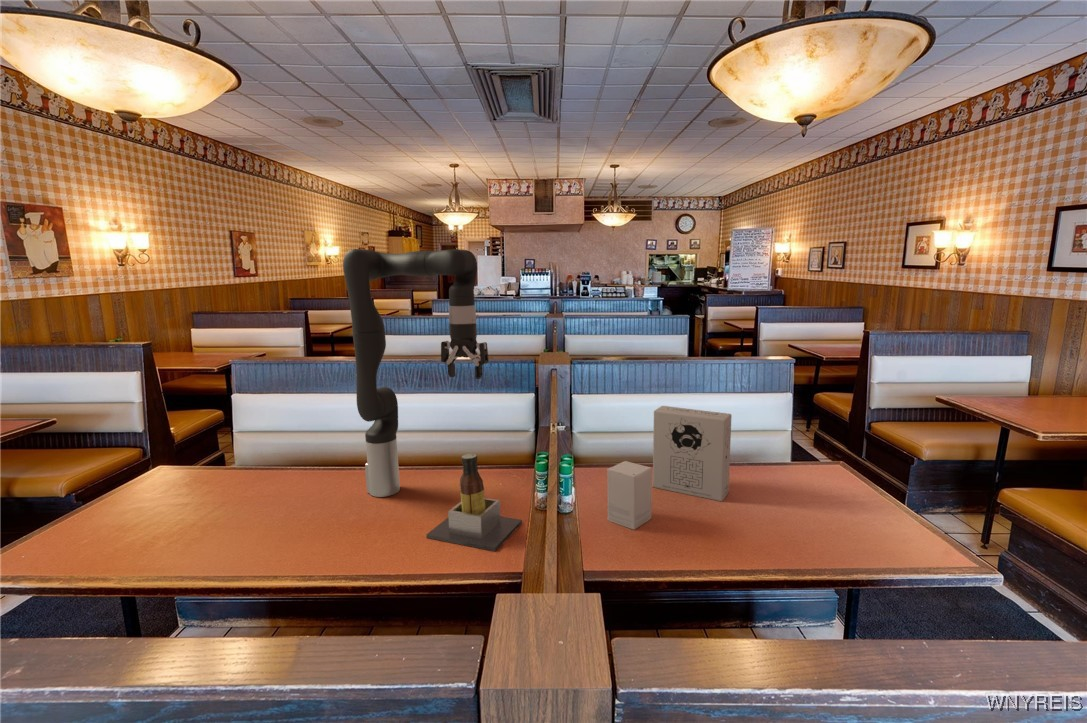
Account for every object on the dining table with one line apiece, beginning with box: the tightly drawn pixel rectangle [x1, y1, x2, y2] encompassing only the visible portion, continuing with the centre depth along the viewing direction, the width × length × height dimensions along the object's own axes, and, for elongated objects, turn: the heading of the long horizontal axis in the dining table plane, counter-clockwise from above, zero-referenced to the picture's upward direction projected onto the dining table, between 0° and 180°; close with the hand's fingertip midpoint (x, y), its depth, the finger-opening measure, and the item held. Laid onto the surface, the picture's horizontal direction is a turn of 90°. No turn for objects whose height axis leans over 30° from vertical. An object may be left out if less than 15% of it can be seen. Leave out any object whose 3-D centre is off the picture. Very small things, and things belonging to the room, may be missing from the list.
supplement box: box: [606, 460, 653, 531], centre depth 146 cm, size 9×9×15 cm
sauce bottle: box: [459, 452, 486, 515], centre depth 141 cm, size 6×6×20 cm
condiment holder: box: [426, 497, 523, 552], centre depth 142 cm, size 20×16×7 cm
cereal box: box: [652, 405, 732, 502], centre depth 164 cm, size 22×8×25 cm, turn 58°
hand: (465, 377), depth 153 cm, fingers open, 8 cm apart
